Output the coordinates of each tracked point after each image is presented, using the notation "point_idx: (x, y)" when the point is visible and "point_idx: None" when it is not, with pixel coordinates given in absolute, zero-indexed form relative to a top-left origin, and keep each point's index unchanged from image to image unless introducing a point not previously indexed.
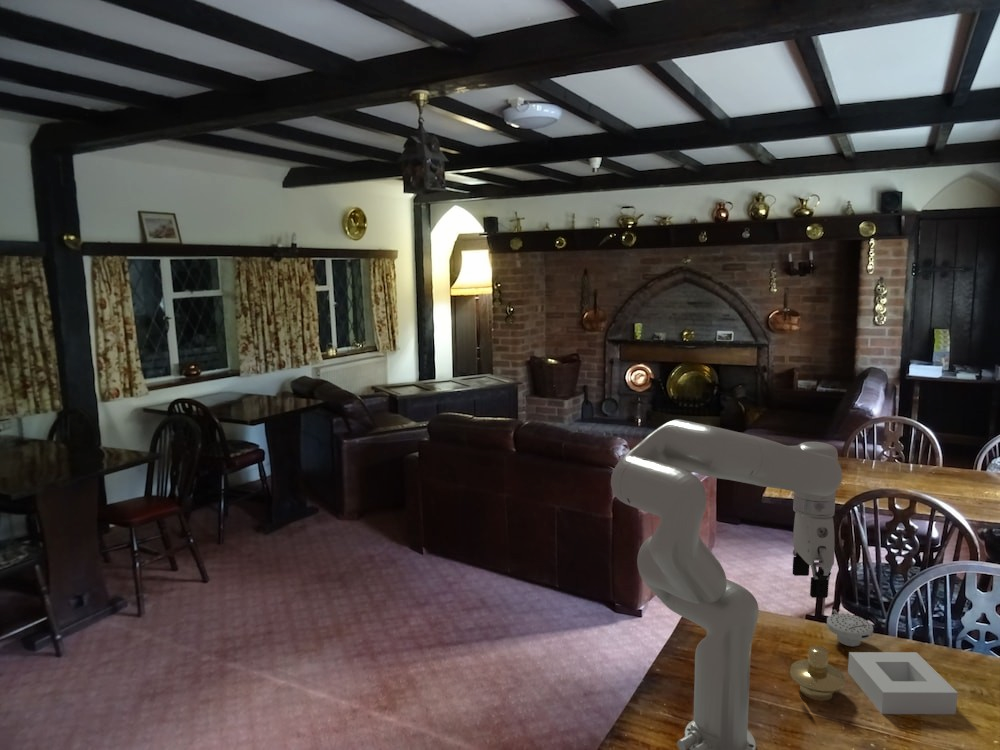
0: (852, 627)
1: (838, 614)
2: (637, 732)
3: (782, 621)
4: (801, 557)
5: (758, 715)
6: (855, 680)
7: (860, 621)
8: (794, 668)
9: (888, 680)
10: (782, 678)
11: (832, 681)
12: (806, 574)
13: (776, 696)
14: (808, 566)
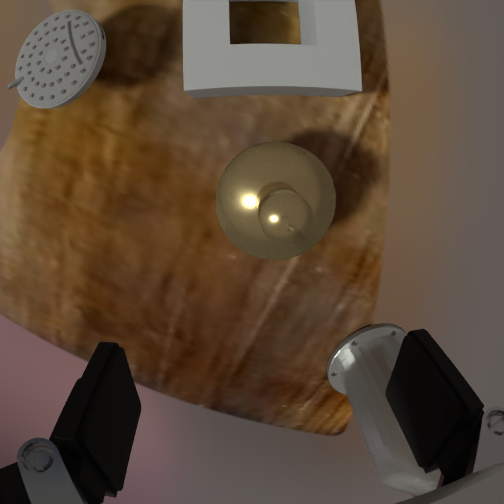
0: (75, 54)
1: (21, 77)
2: (334, 424)
3: (4, 178)
4: (97, 476)
5: (318, 304)
6: (229, 93)
7: (51, 32)
8: (256, 248)
9: (314, 52)
10: (202, 234)
11: (310, 180)
12: (122, 360)
13: (265, 263)
14: (103, 393)
